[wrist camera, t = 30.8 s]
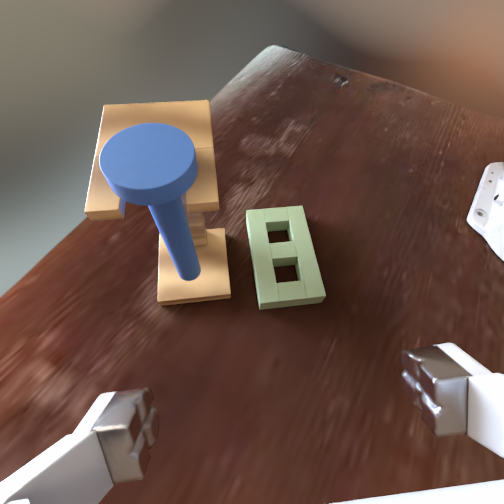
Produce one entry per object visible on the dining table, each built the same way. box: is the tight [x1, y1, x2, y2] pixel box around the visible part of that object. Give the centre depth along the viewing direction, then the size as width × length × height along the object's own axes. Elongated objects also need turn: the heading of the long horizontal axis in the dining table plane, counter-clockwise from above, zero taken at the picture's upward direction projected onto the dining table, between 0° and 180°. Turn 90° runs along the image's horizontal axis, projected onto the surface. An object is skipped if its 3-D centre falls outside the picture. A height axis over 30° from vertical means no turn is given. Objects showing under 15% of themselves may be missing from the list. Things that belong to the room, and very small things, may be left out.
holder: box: [246, 206, 326, 310], centre depth 40 cm, size 8×14×2 cm, turn 7°
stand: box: [84, 100, 231, 306], centre depth 30 cm, size 11×9×21 cm
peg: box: [99, 123, 201, 281], centre depth 26 cm, size 6×6×18 cm
